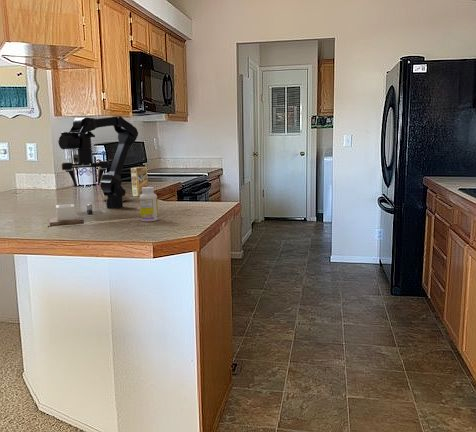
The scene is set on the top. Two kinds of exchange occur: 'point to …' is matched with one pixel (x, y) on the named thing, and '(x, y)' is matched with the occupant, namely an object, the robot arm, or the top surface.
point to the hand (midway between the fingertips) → (87, 186)
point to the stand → (89, 211)
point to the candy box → (139, 180)
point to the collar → (65, 212)
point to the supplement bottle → (148, 205)
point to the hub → (66, 221)
